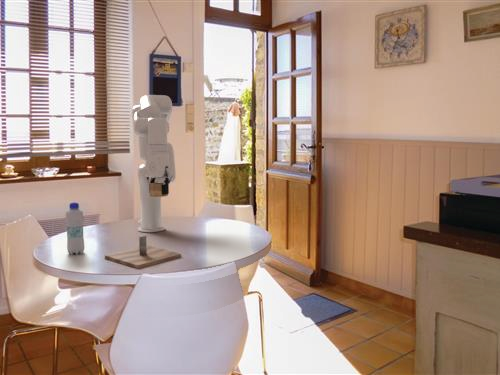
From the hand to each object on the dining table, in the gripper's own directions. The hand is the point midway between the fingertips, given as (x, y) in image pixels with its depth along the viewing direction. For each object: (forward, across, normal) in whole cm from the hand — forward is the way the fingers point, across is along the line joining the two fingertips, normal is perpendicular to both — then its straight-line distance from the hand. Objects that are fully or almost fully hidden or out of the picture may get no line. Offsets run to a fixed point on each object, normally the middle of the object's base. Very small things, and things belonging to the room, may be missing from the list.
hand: (159, 193), depth 194 cm
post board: (+23, +6, -14) cm, 27 cm away
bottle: (+23, -19, -26) cm, 39 cm away
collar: (+1, 0, 0) cm, 1 cm away
